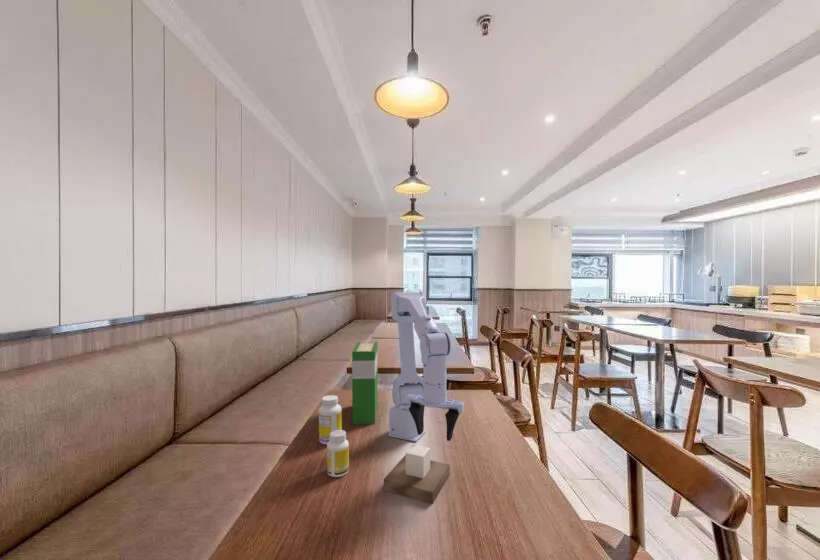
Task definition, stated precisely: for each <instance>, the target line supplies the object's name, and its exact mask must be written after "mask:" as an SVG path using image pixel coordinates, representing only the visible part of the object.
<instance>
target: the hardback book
mask: <svg viewBox="0 0 820 560" xmlns="http://www.w3.org/2000/svg"><path fill="white" fill-rule="evenodd" d="M351 351H352V352H351V363H352V364H351V366H352V369H351V375H352V376H351V377H352V380H351V381H352V382H351V383H352V384H351V387H352V388H351V389H352V390H351V395H352V396H351V397H352V400H351V401H352V402H351V403H352V405H351V407H352V410H351V411H352V413H351V414H352V423H351V424H352V425H371V424H372V425H373V424H376V419H377V412H378V405H377V404H378V403H379V402H378V401H379V399H378V398H379V397H378V394H379V393H378V392H379V391H378V390H379V389H378V388H379V387H378V383H379V382H378V379H379V378H378V371H379V369H378V366H379V365H378V364H379V363H378V361H379V360H378V357H379V355H378V341H374V343H361V341H357V343H356V344H355V346H354V348H353V350H351Z"/></svg>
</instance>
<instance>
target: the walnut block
mask: <svg viewBox="0 0 820 560" xmlns="http://www.w3.org/2000/svg"><path fill="white" fill-rule="evenodd" d="M450 465H451V464H450V463H449V464H447V463H445V462H444V463H443V462H439V461H435V460H431V459H430V470H429V471H428V473H427V474H426V476H425V477H424V478H419V477H415V476H411V475H407V474H406V454H405V455H404V456H403V457H402V458H401V459H400V460H399V461H398V462H397V464H396V465H395V466H394V467H393V468H392V469H391V470H390V472H388V474H387V475H385V477H384V478H383V490H384V491H386V492H390V493H394V494H398V495H401V496H404V497H407V498H411V499H414V500H417V501H418V500H419V501H421V500H422V502H425V503H428V504H434V503H435V501H436V499H437V497H439V496H438V495H439V494H440V492H441V491H442V489H443V487H444V486H445V484H446V482H447V480H448V478H449V476H450V474H451V471H450V469H451V467H450Z"/></svg>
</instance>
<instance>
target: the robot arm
mask: <svg viewBox="0 0 820 560" xmlns="http://www.w3.org/2000/svg"><path fill="white" fill-rule="evenodd" d="M426 301H427V300H426V295H425V294H424V293H423V291H407V292H406V291H403V292H402V291H401V292H399V291H394V292H393V293H391V298H390V311H391V313H390V314H391V317H392V318H391V319H393V320H394V321H396V322H397V327H398V343H399V346H398V347H399V361H400V362H399V363H400V374H399V375H397V377H395V378H394V379H393V380H392V389H391V396H392V401H393V404H392V405H391V407H390V410H389V417H388V419H389V420H388V421H389V422H388V430H389V431H388V435H387V436H388V437H391V438H396V439H402V440H404V441H405V440H406V441H411V442H418V441H419V440H420V438H421V437H422V436H423V435H424V434H425V433H426V429H425V428H424V426H425V423H424V422H425V421H424V416H425V408H429V409H431V408H432V409H433V408H435V409H437V408H438V409H442V410H448V411H447V412H446V413H445V416H444V417H445V420H446V421H445V423H446V441H447V442H450V441H452V439H453V435H454V430H455V426H456V423H457V420H458V418H459V416H460V414H463V412H465V402H463V401H459V400H455V399H452V398H449V397H447V357H448V356H449V355H450V353H451V350H452V349H451V347H452V345H451V339H450V336H449V334H448V332H446V331H443V330H440V328H439V327H438V325H437V323H436V322H435V320H434V318H433V317H432V316H431V315H428V314H427V312H426V310H425V308H426ZM414 332H415V333H416V336H417V337H418V340H419V351H420V355H421V359H420V360H421V363H422V365H423V366H422V370H423V373H422V375H423V376H421V375H420V374H418V373H417V365H416V352H415V349H416V348H415V336H414Z"/></svg>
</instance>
